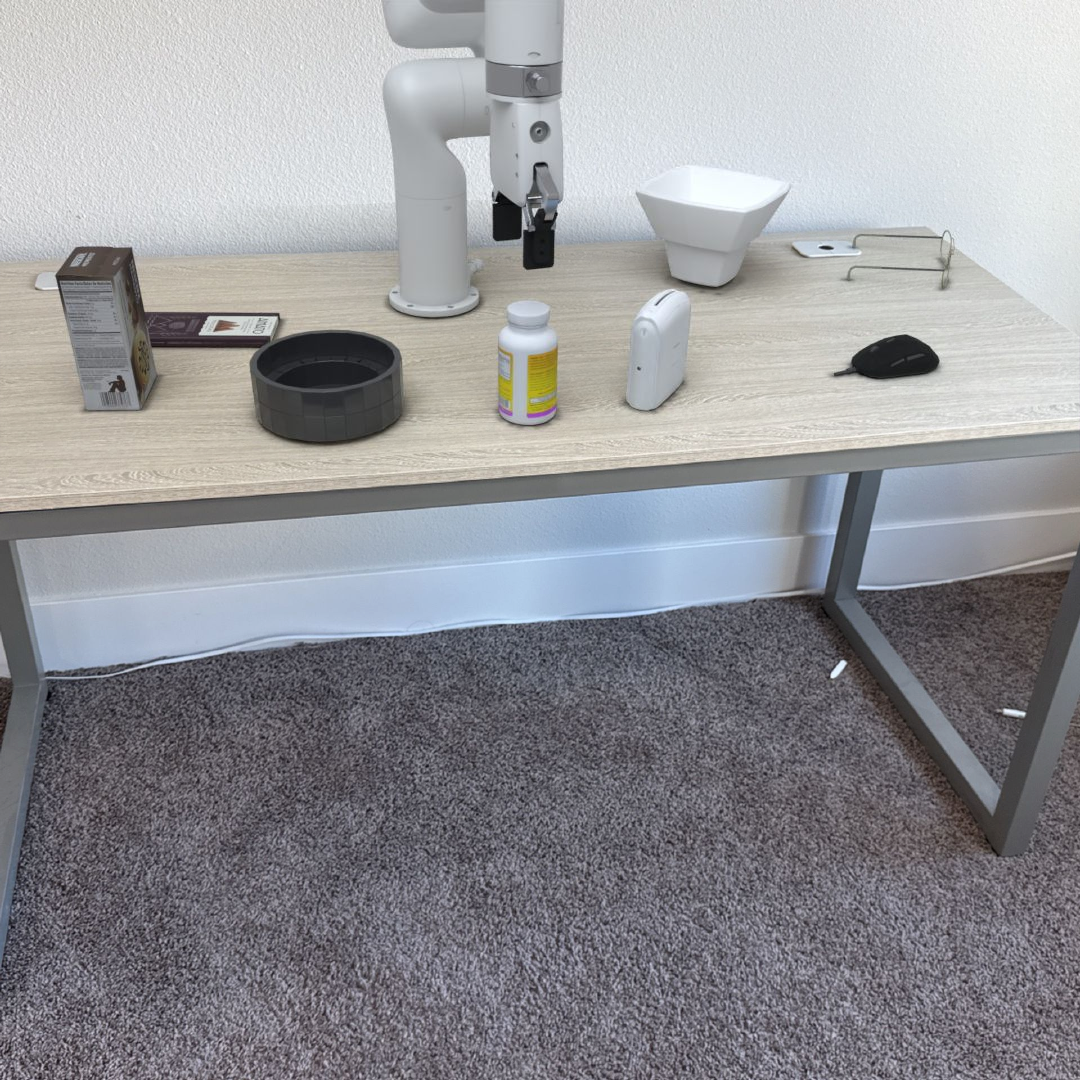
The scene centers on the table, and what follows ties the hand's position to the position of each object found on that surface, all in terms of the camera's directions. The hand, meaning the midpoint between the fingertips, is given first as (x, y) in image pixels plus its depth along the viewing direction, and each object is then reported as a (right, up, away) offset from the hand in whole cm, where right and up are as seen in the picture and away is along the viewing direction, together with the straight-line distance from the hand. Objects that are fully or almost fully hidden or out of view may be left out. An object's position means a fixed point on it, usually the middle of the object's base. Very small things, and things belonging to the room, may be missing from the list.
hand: (522, 253), depth 115 cm
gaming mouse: (+46, -9, +23) cm, 52 cm away
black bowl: (-22, -16, +10) cm, 29 cm away
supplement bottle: (0, -16, +11) cm, 19 cm away
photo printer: (+16, -13, +16) cm, 26 cm away
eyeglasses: (+58, +12, +54) cm, 80 cm away
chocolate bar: (-42, -3, +27) cm, 50 cm away
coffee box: (-47, -13, +12) cm, 50 cm away
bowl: (+27, +9, +48) cm, 56 cm away
